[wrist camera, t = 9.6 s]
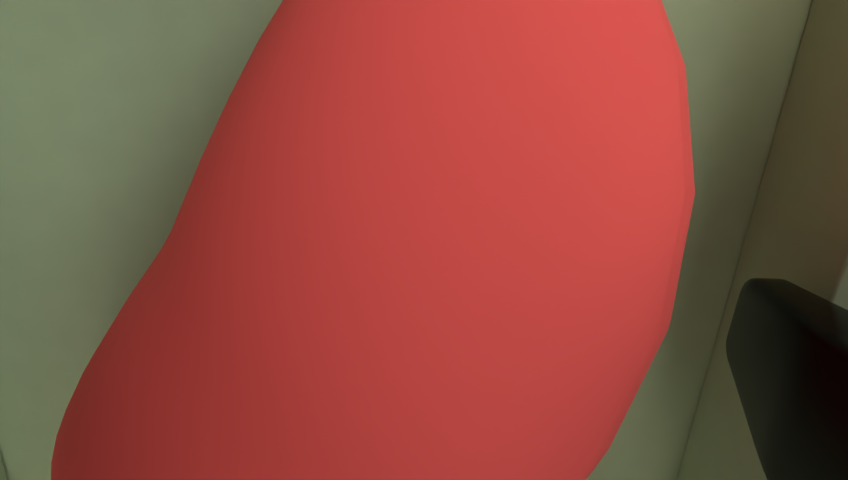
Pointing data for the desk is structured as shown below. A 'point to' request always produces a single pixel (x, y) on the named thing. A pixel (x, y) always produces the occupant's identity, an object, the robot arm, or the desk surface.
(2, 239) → the tray
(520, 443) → the red bean shape
